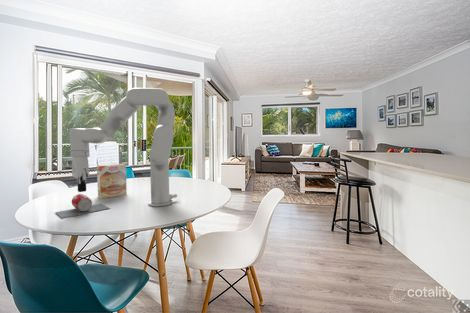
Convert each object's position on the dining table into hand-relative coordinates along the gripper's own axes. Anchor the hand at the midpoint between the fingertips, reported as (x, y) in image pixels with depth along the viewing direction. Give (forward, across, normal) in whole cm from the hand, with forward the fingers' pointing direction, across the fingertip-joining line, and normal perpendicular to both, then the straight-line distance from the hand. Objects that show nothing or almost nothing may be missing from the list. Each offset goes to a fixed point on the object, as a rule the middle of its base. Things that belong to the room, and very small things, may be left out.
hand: (82, 191), depth 114 cm
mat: (+10, +1, 0) cm, 10 cm away
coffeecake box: (+10, -22, +22) cm, 32 cm away
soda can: (+6, -7, 0) cm, 9 cm away
